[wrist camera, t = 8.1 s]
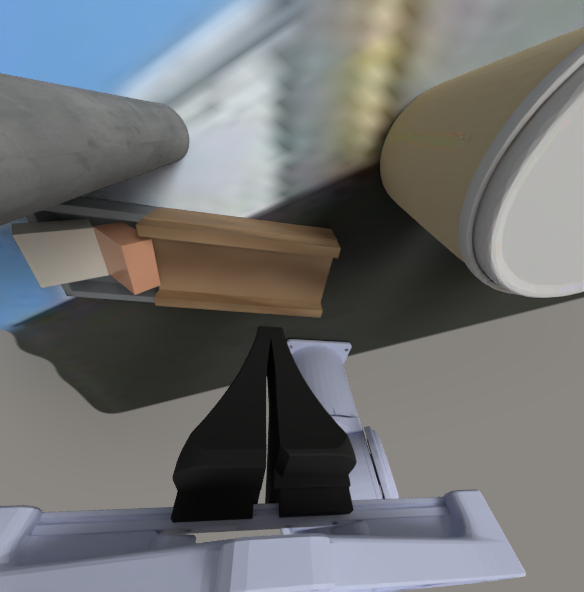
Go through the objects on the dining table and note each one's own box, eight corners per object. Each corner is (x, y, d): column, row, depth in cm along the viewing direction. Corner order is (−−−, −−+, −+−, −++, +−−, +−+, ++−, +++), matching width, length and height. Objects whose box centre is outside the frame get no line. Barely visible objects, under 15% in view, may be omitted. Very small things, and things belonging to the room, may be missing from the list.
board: (314, 294, 24) (320, 318, 21) (171, 282, 22) (155, 306, 19) (331, 228, 20) (341, 247, 17) (157, 207, 18) (135, 222, 15)
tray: (173, 290, 23) (165, 303, 21) (82, 283, 22) (66, 296, 20) (157, 207, 18) (146, 214, 16) (41, 192, 17) (17, 199, 15)
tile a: (160, 285, 19) (134, 294, 18) (134, 265, 21) (108, 273, 19) (151, 239, 17) (121, 246, 15) (122, 221, 18) (92, 226, 17)
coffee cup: (517, 151, 17) (822, 184, 8) (406, 238, 21) (518, 335, 11) (472, 16, 13) (1016, -283, 4) (342, 154, 17) (435, 195, 7)
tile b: (41, 287, 17) (40, 275, 18) (109, 275, 19) (104, 264, 20) (12, 234, 14) (12, 223, 16) (92, 227, 17) (88, 218, 18)
